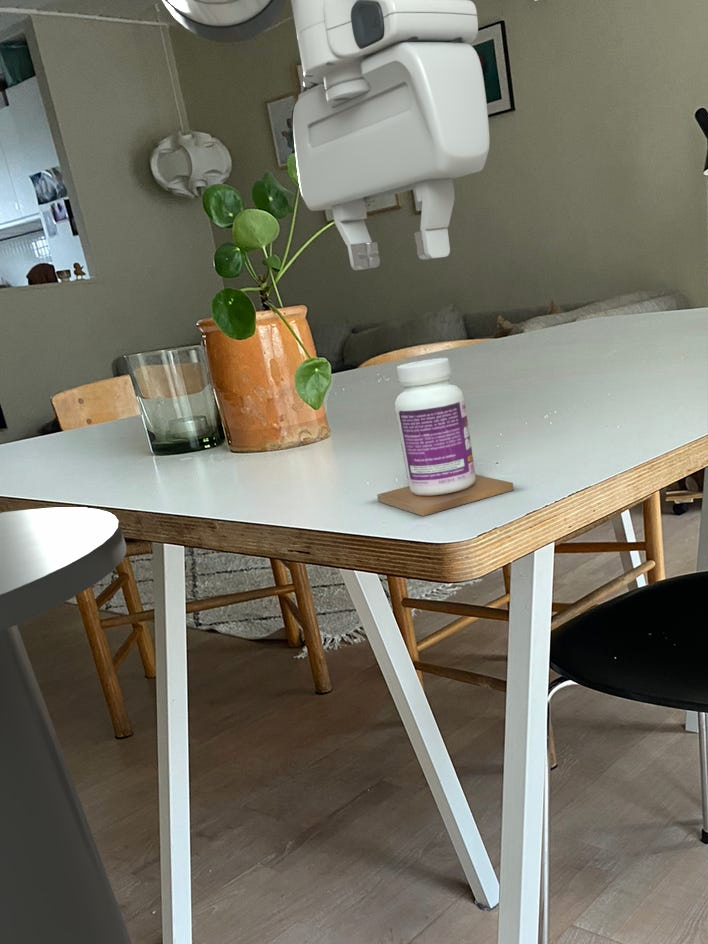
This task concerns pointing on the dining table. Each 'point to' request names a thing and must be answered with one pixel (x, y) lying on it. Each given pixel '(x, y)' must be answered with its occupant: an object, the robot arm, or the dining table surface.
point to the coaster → (444, 496)
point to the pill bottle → (433, 429)
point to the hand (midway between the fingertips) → (398, 264)
